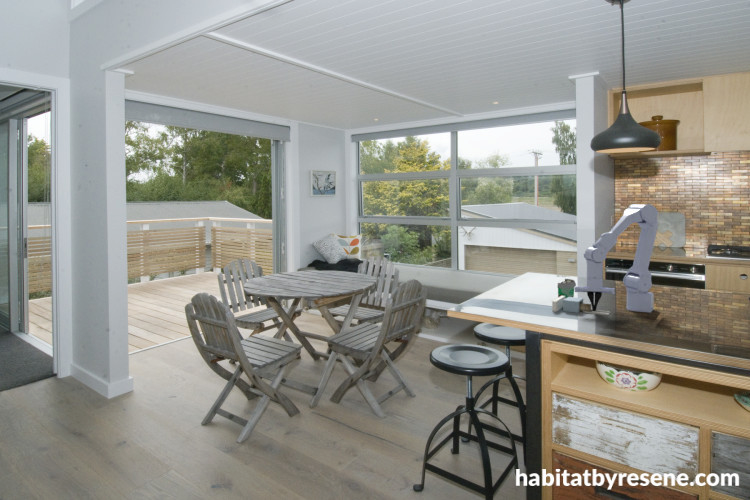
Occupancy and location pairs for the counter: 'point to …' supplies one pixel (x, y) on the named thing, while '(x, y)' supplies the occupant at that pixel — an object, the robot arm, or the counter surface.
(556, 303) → the wall
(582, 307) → the dowel
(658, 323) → the counter surface
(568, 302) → the block
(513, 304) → the counter surface
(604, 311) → the cradle
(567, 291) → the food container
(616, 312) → the counter surface
